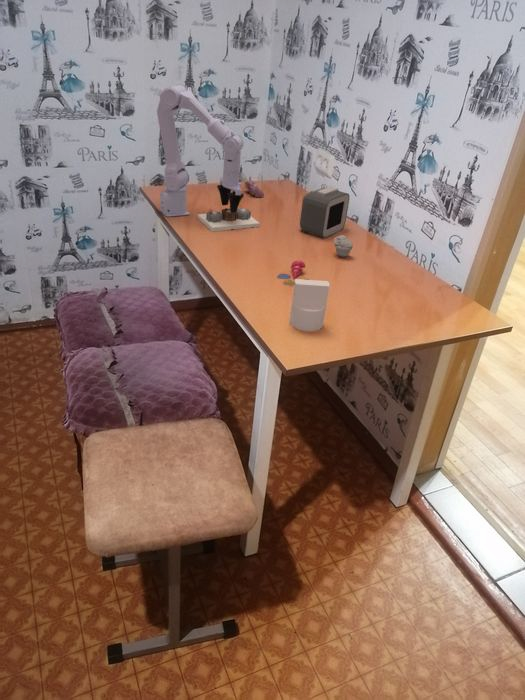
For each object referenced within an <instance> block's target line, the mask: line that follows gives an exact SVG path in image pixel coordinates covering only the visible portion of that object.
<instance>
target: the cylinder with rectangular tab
mask: <svg viewBox="0 0 525 700" xmlns="http://www.w3.org/2000/svg"><path fill="white" fill-rule="evenodd" d="M303 279H304V278H303ZM303 279H301V278H300V279H299V278H296V279H294V282H295V283H294V284H295V285H294V284H293V293H292V300H291V307H290V317H289V324H290V325H291V326H292V327H293V328H294V327H295V328H294V329H296V328H297V330H298V329H300V330H299V331H302V330H303V331H302V332H315V331H314V330H317V331H319V330H321V329H322V328H323V325H324V319H325V313H326V308H327V304H328V303H327V301H328V296H329V292H330V282H329V281H328V280H316V279H315V280H314V279H309V280H303ZM320 328H321V329H320ZM318 329H319V330H318Z"/></svg>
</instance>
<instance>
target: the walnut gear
mask: <svg viewBox="0 0 525 700" xmlns="http://www.w3.org/2000/svg"><path fill="white" fill-rule="evenodd" d="M227 210H230V208H222V209H221V211H220V212H221V213H222V220H225V221H234V220H237V211H236V212H227Z"/></svg>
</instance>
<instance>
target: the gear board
mask: <svg viewBox="0 0 525 700" xmlns="http://www.w3.org/2000/svg"><path fill="white" fill-rule="evenodd" d="M221 212H222V211H217V210H213V209H212V208H209V209H208V211H207V212H206V213H198V214H197V219H198V221H200V222H201V223H202V224H203V225H204V226H206V228H207V229H208V230H209V231H211V232H212V233H214V232H220V231H222V232H223V231H232V230H231V229H234V230H241V229H243V228H244V229H252V228H251V227H254V228H260V227H261V225H260V224H261V223H260V222H259V221H258V220H256V219H255V218H254V217H253V216H252V215H251V214H252V211H251V210H250V209H248V208H247V209H245V208H244V207H243V208H237V220H234V221H225V220H222V213H221ZM227 212H230V210H227ZM244 229H243V230H244Z"/></svg>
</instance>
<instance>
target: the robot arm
mask: <svg viewBox="0 0 525 700" xmlns="http://www.w3.org/2000/svg"><path fill="white" fill-rule="evenodd" d="M179 109H184V110H189V111H190V112H192V113H193V114H194V115H195V116H196V117H197V118H198V119H199V121H201V122H202V123H204V124H205V125H206V126H207V129H206V130H207V132H208V133H209V134H210V135H211V136H212V137H213V138H214V139H215V140H216V141H217V142H218V143H219V144H220V145H221V147H222V148H221V149H222V150H223V152H224V156H223V170H222V171H223V172H222V173H223V175H222V177H219V183H220V184H218V185H216V187H217V191H218V192H219V197H220V203H221V206H228V205H229V209H230V212H236V211H237V209H239V205H240V203H241V200H242V199H243V198H244V196H245V195H244V193H243V192H242V191H243V190H242V189H241V187H242V182H240V170H241V169H240V168H241V156H242V155H241V154H242V153H241V150H243V147H244V139H243V138H242V136H241V135H240V134H238V133H236V132H235V131H234V130H231V128H229V126H227V125H226V124H225V123H226V122H225V120H224V119H220V118H217V117H215V118H214V116H213V115H212V114H211V113H210V112H209V111H208V110H207V108H205V107H204V105H203V104H202V103H201V102H200V101H199V100H198V99H197V97H196V96H195V95H194V93H193V92H192V91H191V90H190V89H188V87H187V86H186V85H185V84H181V83H178V84H175V85H173V86H168V87H165V88H164V89H163V90H162V92H161V93H160V94H159V102H158V106H157V109H156V112H157V113H156V114H157V120H158V124H159V125H158V126H159V130H160V136H161V140H162V146H163V150H164V157H165V161H166V165H165V169H164V171H163V172H164V179H163V183H164V186H165V189H162V190H160V193H159V211H160V212H161V213H162V215H164V216H165V217H166V218H167V217H168V218H169V217H179V216H190V215H191V213H190V212H189V211H188V210H187V185H188V183H189V182H190V174H189V172H188V170H187V168H186V164H185V163H184V162H183V161H182V157H181V152H180V151H181V150H180V144H179V141H178V136H177V135H178V134H177V130H176V124H175V118H174V115H175V113H177V111H178V110H179Z"/></svg>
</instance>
